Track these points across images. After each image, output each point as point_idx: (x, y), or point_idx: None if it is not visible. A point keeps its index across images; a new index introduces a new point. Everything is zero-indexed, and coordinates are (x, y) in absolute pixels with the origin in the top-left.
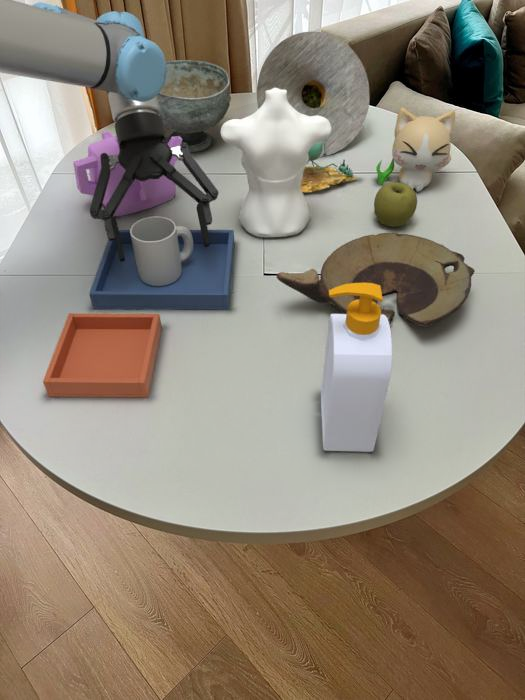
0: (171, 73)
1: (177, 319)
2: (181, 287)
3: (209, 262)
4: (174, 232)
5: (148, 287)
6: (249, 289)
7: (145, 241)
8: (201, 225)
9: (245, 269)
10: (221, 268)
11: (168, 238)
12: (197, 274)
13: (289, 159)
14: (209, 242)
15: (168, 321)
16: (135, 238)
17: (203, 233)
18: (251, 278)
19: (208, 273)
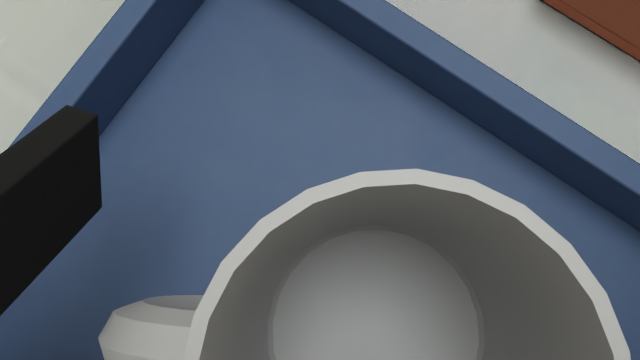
0: None
1: (449, 12)
2: (337, 170)
3: (115, 267)
4: (263, 218)
5: None
6: (80, 7)
7: (553, 244)
8: (1, 228)
9: (4, 138)
10: None
11: (349, 176)
12: (219, 217)
13: None
14: (68, 108)
15: (489, 22)
16: (620, 343)
17: (47, 171)
18: (25, 66)
19: (170, 190)
